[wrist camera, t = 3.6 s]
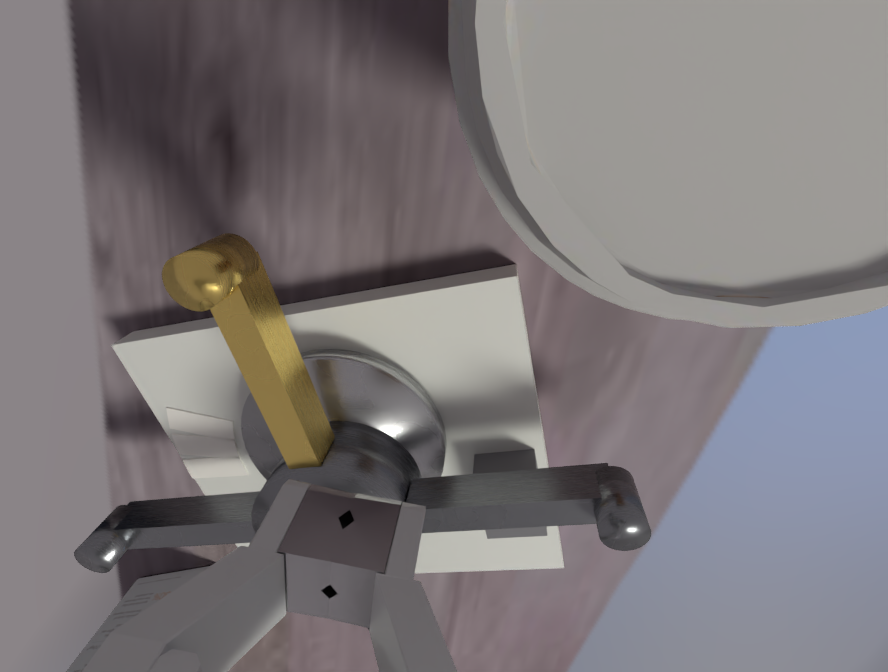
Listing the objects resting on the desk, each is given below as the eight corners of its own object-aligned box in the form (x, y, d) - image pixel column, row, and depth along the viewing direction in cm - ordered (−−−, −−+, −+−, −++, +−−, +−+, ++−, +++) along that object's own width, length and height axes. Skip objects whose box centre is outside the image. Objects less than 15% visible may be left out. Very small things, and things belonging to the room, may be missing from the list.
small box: (180, 618, 36) (69, 795, 27) (137, 575, 34) (0, 751, 25) (260, 608, 34) (171, 796, 25) (220, 561, 32) (105, 748, 23)
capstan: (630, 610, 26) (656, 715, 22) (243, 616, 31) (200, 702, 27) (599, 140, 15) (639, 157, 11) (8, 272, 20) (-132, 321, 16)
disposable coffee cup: (449, -50, 15) (310, -432, 4) (775, -183, 12) (2256, -1724, 2) (511, 230, 19) (519, 398, 8) (766, 166, 16) (1232, 284, 6)
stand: (561, 545, 27) (568, 604, 24) (267, 558, 31) (240, 610, 28) (516, 264, 19) (518, 296, 16) (133, 331, 23) (74, 367, 20)
